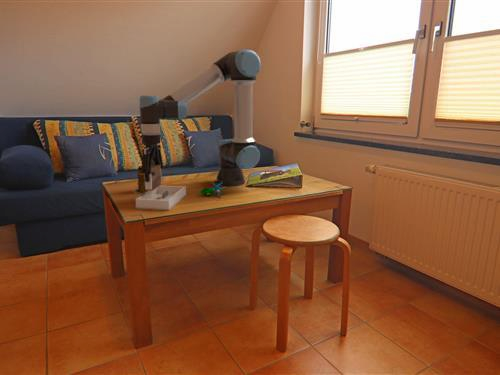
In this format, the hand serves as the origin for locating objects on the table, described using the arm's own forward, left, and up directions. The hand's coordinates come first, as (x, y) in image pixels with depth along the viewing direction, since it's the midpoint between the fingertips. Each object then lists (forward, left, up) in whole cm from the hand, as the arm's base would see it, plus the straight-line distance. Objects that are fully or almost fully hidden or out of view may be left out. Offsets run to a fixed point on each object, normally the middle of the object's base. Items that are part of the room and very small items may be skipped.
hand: (153, 185), depth 149 cm
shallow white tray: (-4, 0, -7) cm, 8 cm away
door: (0, 0, -1) cm, 1 cm away
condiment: (+11, -14, -7) cm, 20 cm away
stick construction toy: (-24, -12, -7) cm, 27 cm away
